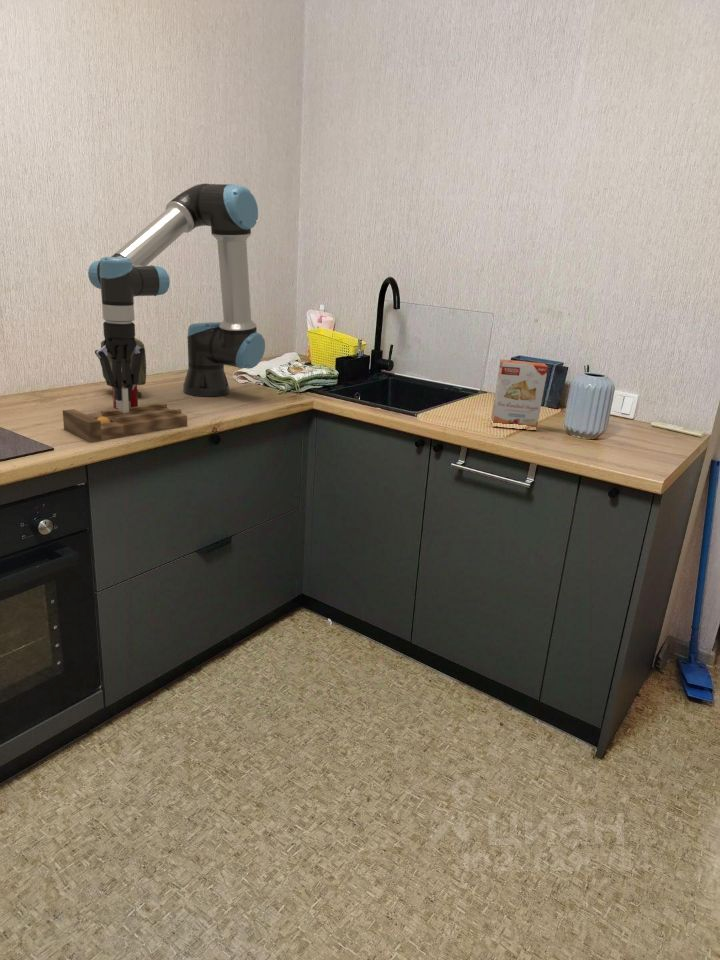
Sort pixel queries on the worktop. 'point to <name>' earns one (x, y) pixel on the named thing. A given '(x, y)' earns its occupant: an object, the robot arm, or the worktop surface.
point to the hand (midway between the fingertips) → (123, 411)
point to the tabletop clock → (143, 363)
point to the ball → (104, 420)
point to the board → (123, 422)
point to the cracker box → (519, 392)
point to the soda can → (132, 402)
